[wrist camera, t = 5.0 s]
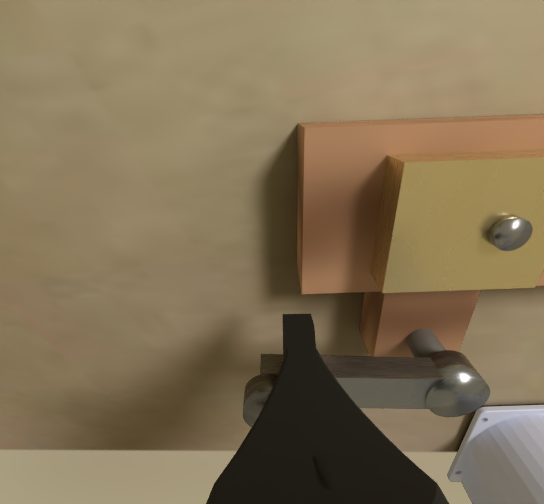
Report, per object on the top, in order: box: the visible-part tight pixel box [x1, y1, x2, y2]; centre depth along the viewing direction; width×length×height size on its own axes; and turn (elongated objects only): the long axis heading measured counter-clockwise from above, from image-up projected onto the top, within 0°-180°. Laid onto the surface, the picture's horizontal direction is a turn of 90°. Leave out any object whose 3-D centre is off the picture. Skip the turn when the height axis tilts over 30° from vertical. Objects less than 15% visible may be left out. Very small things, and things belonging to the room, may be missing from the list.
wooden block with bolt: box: [370, 149, 544, 293], centre depth 11 cm, size 5×6×2 cm
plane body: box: [297, 114, 544, 357], centre depth 13 cm, size 12×18×4 cm, turn 92°
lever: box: [243, 350, 490, 427], centre depth 12 cm, size 10×2×2 cm, turn 88°
